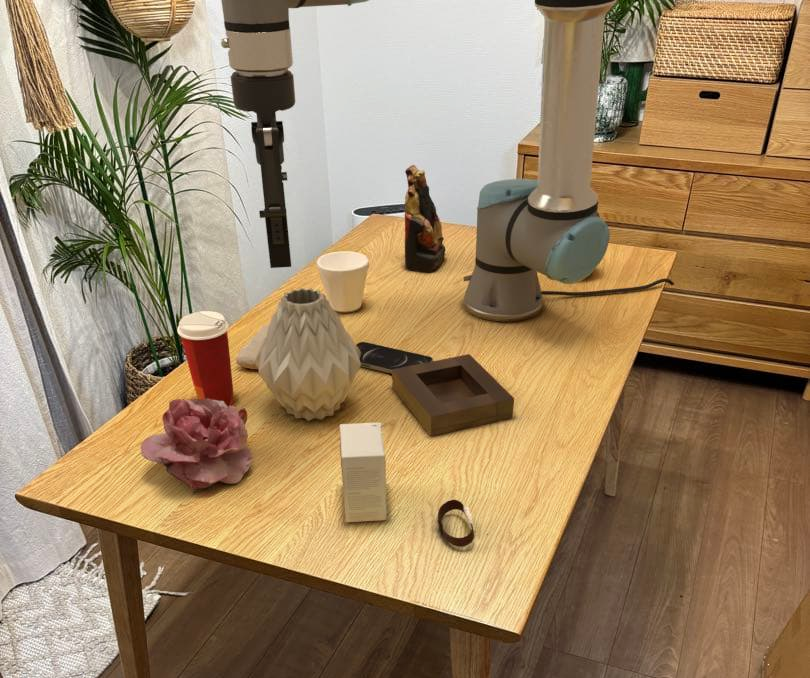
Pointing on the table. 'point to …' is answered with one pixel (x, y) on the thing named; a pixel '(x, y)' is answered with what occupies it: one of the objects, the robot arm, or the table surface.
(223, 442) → the flower
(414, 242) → the statue
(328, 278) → the cup
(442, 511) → the watch
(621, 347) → the table surface
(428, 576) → the table surface
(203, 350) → the paper cup
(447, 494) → the table surface
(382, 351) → the smartphone
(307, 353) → the vase
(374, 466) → the small box
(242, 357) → the washcloth
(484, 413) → the square wooden frame
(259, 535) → the table surface
